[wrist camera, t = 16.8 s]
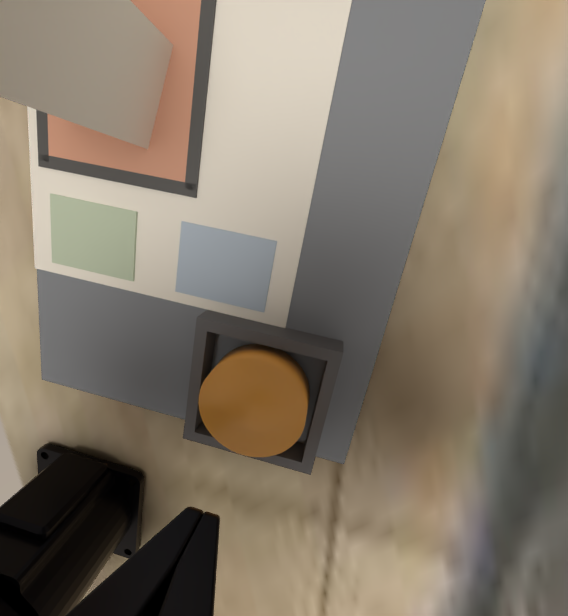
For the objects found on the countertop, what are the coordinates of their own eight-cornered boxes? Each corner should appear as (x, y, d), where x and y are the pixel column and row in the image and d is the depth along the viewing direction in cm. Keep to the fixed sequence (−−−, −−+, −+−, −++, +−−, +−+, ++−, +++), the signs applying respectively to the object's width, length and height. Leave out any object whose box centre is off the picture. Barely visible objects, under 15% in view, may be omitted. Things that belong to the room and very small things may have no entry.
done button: (298, 443, 15) (293, 469, 13) (207, 418, 15) (193, 440, 14) (319, 358, 13) (317, 376, 12) (219, 333, 14) (204, 347, 12)
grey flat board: (343, 452, 16) (344, 484, 14) (54, 372, 17) (20, 391, 16) (476, 10, 10) (507, -36, 9) (42, -44, 12) (-14, -92, 10)
